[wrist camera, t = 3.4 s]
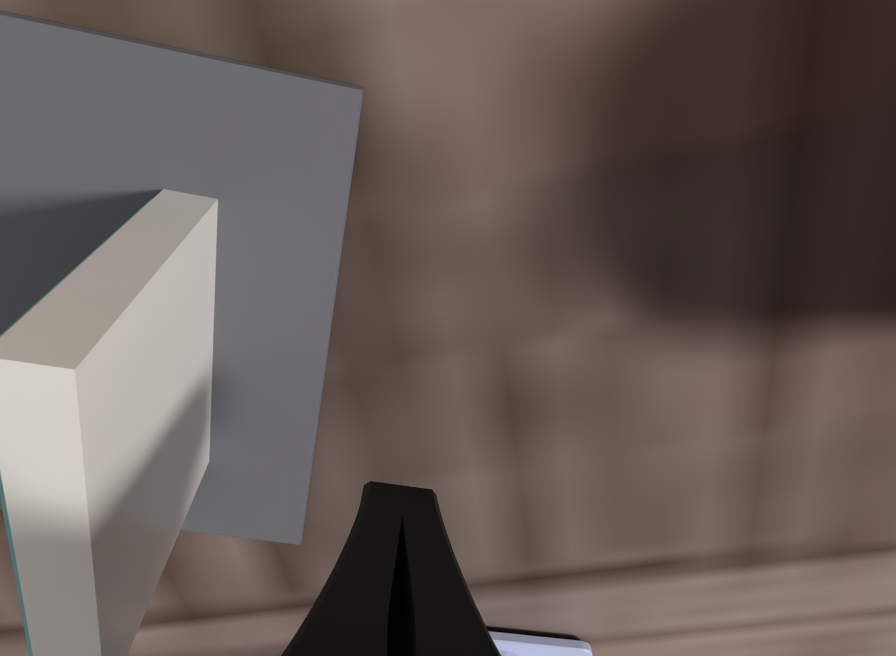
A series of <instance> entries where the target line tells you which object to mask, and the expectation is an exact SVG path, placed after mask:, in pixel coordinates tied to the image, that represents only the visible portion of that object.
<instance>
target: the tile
mask: <svg viewBox="0 0 896 656" xmlns="http://www.w3.org/2000/svg"><path fill="white" fill-rule="evenodd" d="M217 211H218V199H215V198H209V197H204V196H199V195H193V194H188V193H182V192H177V191H171V190H166V189H163V190H162V191H161V192H160V193H159V194H158V195H157V196H155V197H154V198H153V199H151V200H149V201H148V202H147V203H146V204H145V205H144V206H143V207H142V208H141V209H139V210H138V211H137V212H136V213H135V214H134V215H133V216H132V217H131V218H129V219H128V220H127V221H126V222H125V223H124V224H123V225H122V226H121V227H119V228H118V229H117V230H116V231H115V232H114V233H113V234H112V235H111V236H109V237H108V238H107V239H106V240H105V241H104V242H103V243H102V244H101V245H99V246H98V247H97V248H96V249H95V250H94V251H93V252H92V253H91V254H90V255H88V256H87V257H86V258H85V259H84V260H83V261H82V262H81V263H80V264H78V265H77V266H76V267H75V268H74V269H73V270H72V271H71V272H70V273H68V274H67V275H66V276H65V277H64V278H63V279H62V280H61V281H60V282H58V283H57V284H56V285H55V286H54V287H53V288H52V289H51V290H50V291H48V292H47V293H46V294H45V295H44V296H43V297H42V298H41V299H40V300H38V301H37V302H36V303H35V304H34V305H33V306H32V307H31V308H30V309H29V310H27V311H26V312H25V313H24V314H23V315H22V316H21V317H20V318H19V319H17V320H16V321H15V322H14V323H13V324H12V325H11V326H10V327H9V328H7V329H6V330H5V331H4V332H3V333H2V334H1V335H0V498H1V504H2V509H3V515H4V520H5V526H6V531H7V537H8V542H9V548H10V553H11V559H12V564H13V570H14V575H15V580H16V586H17V591H18V597H19V602H20V608H21V613H22V619H23V624H24V630H25V635H26V641H27V646H28V652H29V656H127V654H128V652H129V650H130V647H131V645H132V642H133V640H134V638H135V635H136V633H137V631H138V628H139V626H140V624H141V621H142V619H143V617H144V614H145V612H146V609H147V607H148V605H149V602H150V600H151V598H152V595H153V593H154V591H155V588H156V586H157V583H158V581H159V579H160V576H161V574H162V572H163V569H164V567H165V565H166V562H167V560H168V557H169V555H170V553H171V550H172V548H173V546H174V543H175V541H176V539H177V536H178V534H179V532H180V529H181V527H182V524H183V522H184V520H185V517H186V515H187V513H188V510H189V508H190V506H191V503H192V501H193V498H194V496H195V494H196V491H197V489H198V487H199V484H200V482H201V480H202V477H203V475H204V472H205V470H206V468H207V465H208V463H209V452H210V422H211V392H212V362H213V332H214V302H215V272H216V242H217Z"/></svg>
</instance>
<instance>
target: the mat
mask: <svg viewBox="0 0 896 656" xmlns="http://www.w3.org/2000/svg"><path fill="white" fill-rule="evenodd" d="M363 92H364V87H361V86H356V85H351V84H347V83H342V82H337V81H332V80H327V79H323V78H318V77H313V76H308V75H304V74H299V73H294V72H289V71H285V70H280V69H275V68H270V67H266V66H261V65H256V64H251V63H247V62H242V61H237V60H232V59H228V58H223V57H218V56H213V55H209V54H204V53H199V52H194V51H190V50H185V49H180V48H175V47H171V46H166V45H161V44H156V43H152V42H147V41H142V40H137V39H133V38H128V37H123V36H118V35H114V34H109V33H104V32H99V31H94V30H90V29H85V28H80V27H75V26H71V25H66V24H61V23H56V22H52V21H47V20H42V19H37V18H33V17H28V16H23V15H18V14H14V13H9V12H4V11H0V335H1V334H2V333H3V332H4V331H5V330H6V329H7V328H9V327H10V326H11V325H12V324H13V323H14V322H15V321H16V320H17V319H19V318H20V317H21V316H22V315H23V314H24V313H25V312H26V311H27V310H29V309H30V308H31V307H32V306H33V305H34V304H35V303H36V302H37V301H38V300H40V299H41V298H42V297H43V296H44V295H45V294H46V293H47V292H48V291H50V290H51V289H52V288H53V287H54V286H55V285H56V284H57V283H58V282H60V281H61V280H62V279H63V278H64V277H65V276H66V275H67V274H68V273H70V272H71V271H72V270H73V269H74V268H75V267H76V266H77V265H78V264H80V263H81V262H82V261H83V260H84V259H85V258H86V257H87V256H88V255H90V254H91V253H92V252H93V251H94V250H95V249H96V248H97V247H98V246H99V245H101V244H102V243H103V242H104V241H105V240H106V239H107V238H108V237H109V236H111V235H112V234H113V233H114V232H115V231H116V230H117V229H118V228H119V227H121V226H122V225H123V224H124V223H125V222H126V221H127V220H128V219H129V218H131V217H132V216H133V215H134V214H135V213H136V212H137V211H138V210H139V209H141V208H142V207H143V206H144V205H145V204H146V203H147V202H148V201H149V200H151V199H153V198H154V197H155V196H157V195H158V194H159V193H160V192H161V191H162V190H163V189H166V190H171V191H177V192H182V193H188V194H193V195H199V196H204V197H209V198H215V199H218V211H217V242H216V272H215V302H214V332H213V362H212V392H211V422H210V452H209V463H208V465H207V468H206V470H205V472H204V475H203V477H202V480H201V482H200V484H199V487H198V489H197V491H196V494H195V496H194V498H193V501H192V503H191V506H190V508H189V510H188V513H187V515H186V517H185V520H184V522H183V524H182V527H181V529H180V531H188V532H197V533H205V534H214V535H222V536H231V537H239V538H248V539H256V540H265V541H273V542H282V543H290V544H299V545H301V541H302V536H303V530H304V522H305V515H306V508H307V500H308V493H309V486H310V478H311V471H312V464H313V457H314V449H315V442H316V435H317V427H318V420H319V413H320V405H321V398H322V391H323V384H324V376H325V369H326V362H327V354H328V347H329V340H330V332H331V325H332V318H333V311H334V303H335V296H336V289H337V281H338V274H339V267H340V259H341V252H342V245H343V238H344V230H345V223H346V216H347V208H348V201H349V194H350V186H351V179H352V172H353V165H354V157H355V150H356V143H357V135H358V128H359V121H360V113H361V106H362V99H363ZM0 509H1V510H3V509H2V504H1V498H0Z"/></svg>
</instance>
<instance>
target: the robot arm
mask: <svg viewBox="0 0 896 656" xmlns="http://www.w3.org/2000/svg"><path fill="white" fill-rule="evenodd" d="M281 656H593V654H592V650H591V647H590V645H589V644H588V643H586V642H584V641H579V640H569V639H560V638H550V637H540V636H531V635H521V634H512V633H502V632H492V631H488V630H487V628H486V626H485V624H484V622H483V620H482V617H481V615H480V613H479V611H478V609H477V607H476V605H475V603H474V600H473V598H472V596H471V594H470V592H469V589H468V587H467V584H466V582H465V580H464V577H463V575H462V572H461V570H460V567H459V565H458V562H457V560H456V557H455V555H454V552H453V549H452V547H451V544H450V541H449V538H448V535H447V532H446V529H445V526H444V523H443V519H442V516H441V513H440V509H439V505H438V501H437V497H436V494H435V493H434V491H433V490H432V489H424V488H417V487H409V486H402V485H394V484H387V483H380V482H372V481H370V482H369V483H367V484H365V485H364V488H363V493H362V498H361V503H360V507H359V510H358V514H357V516H356V519H355V522H354V524H353V527H352V529H351V532H350V535H349V537H348V539H347V541H346V543H345V546H344V548H343V550H342V552H341V554H340V556H339V558H338V561H337V563H336V565H335V567H334V569H333V571H332V573H331V574H330V576H329V578H328V580H327V582H326V584H325V585H324V587H323V589H322V591H321V593H320V594H319V596H318V598H317V600H316V602H315V603H314V605H313V607H312V609H311V610H310V612H309V613H308V615H307V617H306V618H305V620H304V622H303V623H302V625H301V626H300V628H299V630H298V631H297V633H296V634H295V636H294V637H293V639H292V640H291V642H290V643H289V645H288V646H287V648H286V649H285V651H284V652H283V654H282V655H281Z"/></svg>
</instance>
